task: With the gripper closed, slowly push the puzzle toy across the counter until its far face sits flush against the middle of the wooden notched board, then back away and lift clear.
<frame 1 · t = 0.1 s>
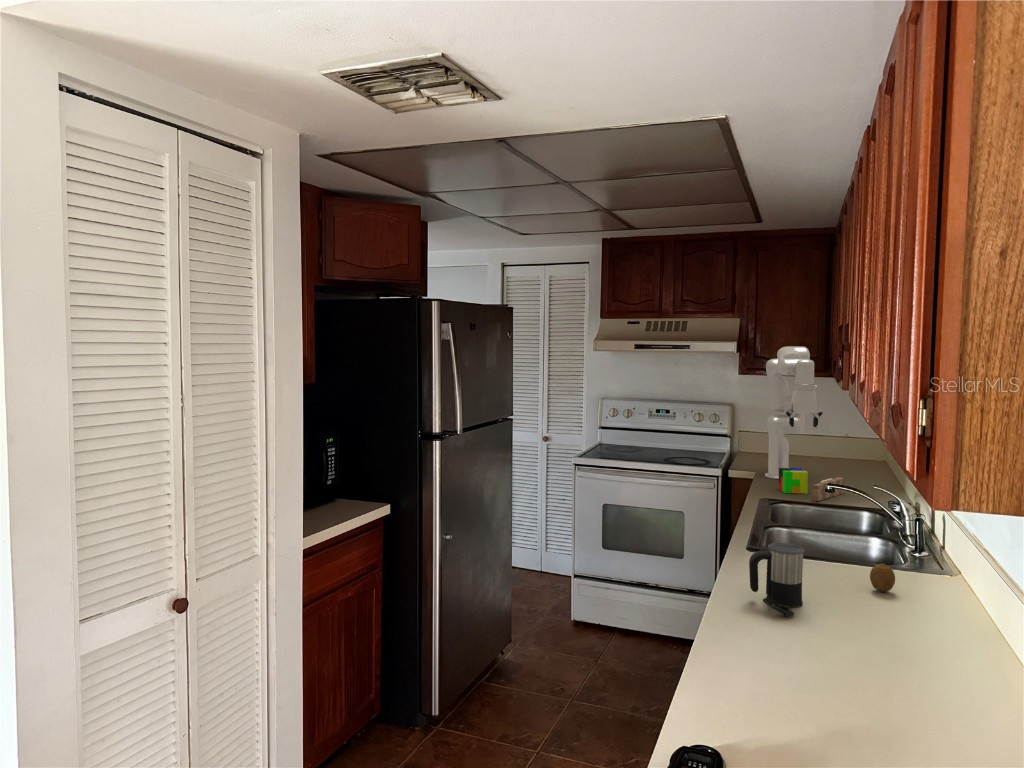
hand: (803, 426, 313), 31 cm above the worktop, tool pointing down, fingers open, 9 cm apart
fruit: (882, 592, 197), on the worktop
wooden notched board: (828, 497, 314), on the worktop
milk frother: (782, 607, 186), on the worktop
puzzle toy: (792, 492, 326), on the worktop
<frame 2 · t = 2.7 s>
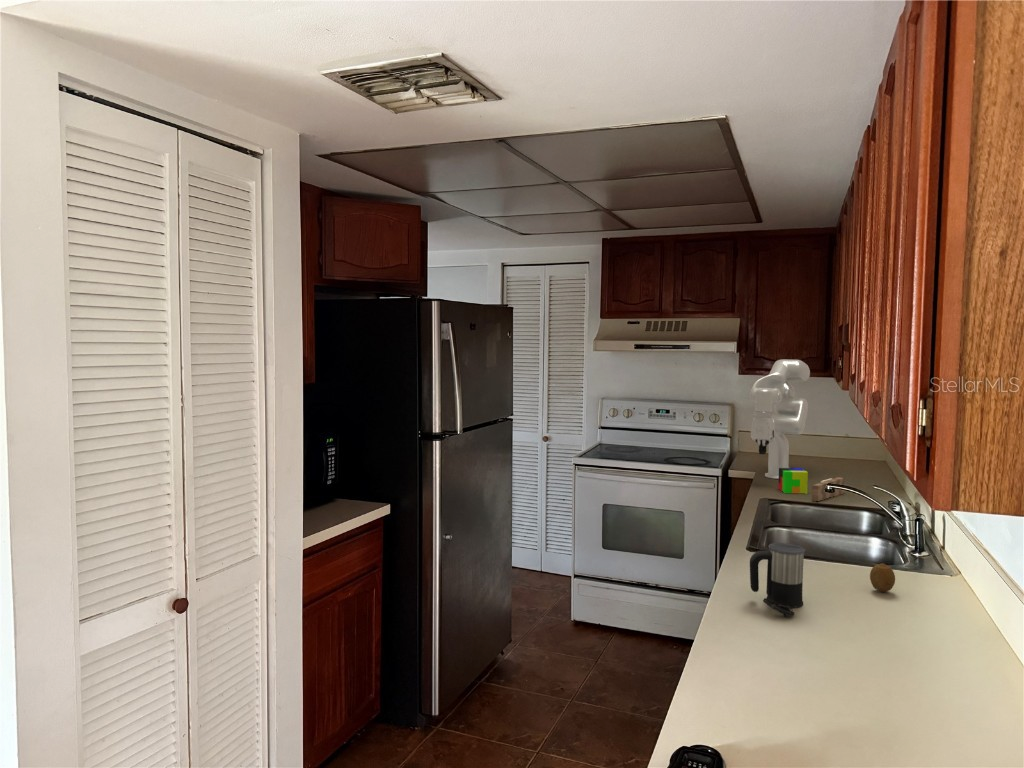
hand: (762, 453, 336), 16 cm above the worktop, tool pointing down, fingers closed
nothing on the worktop moved.
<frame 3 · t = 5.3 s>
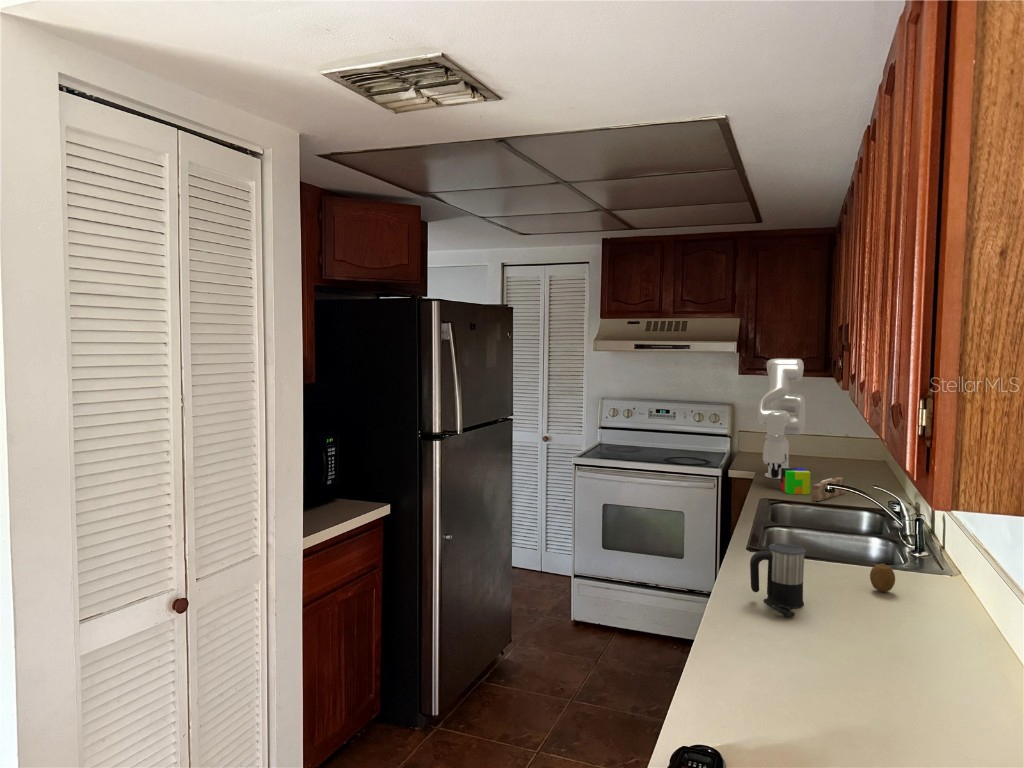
hand: (774, 477, 332), 5 cm above the worktop, tool pointing down, fingers closed
puzzle toy: (795, 492, 325), on the worktop, touching gripper
everything else where it was.
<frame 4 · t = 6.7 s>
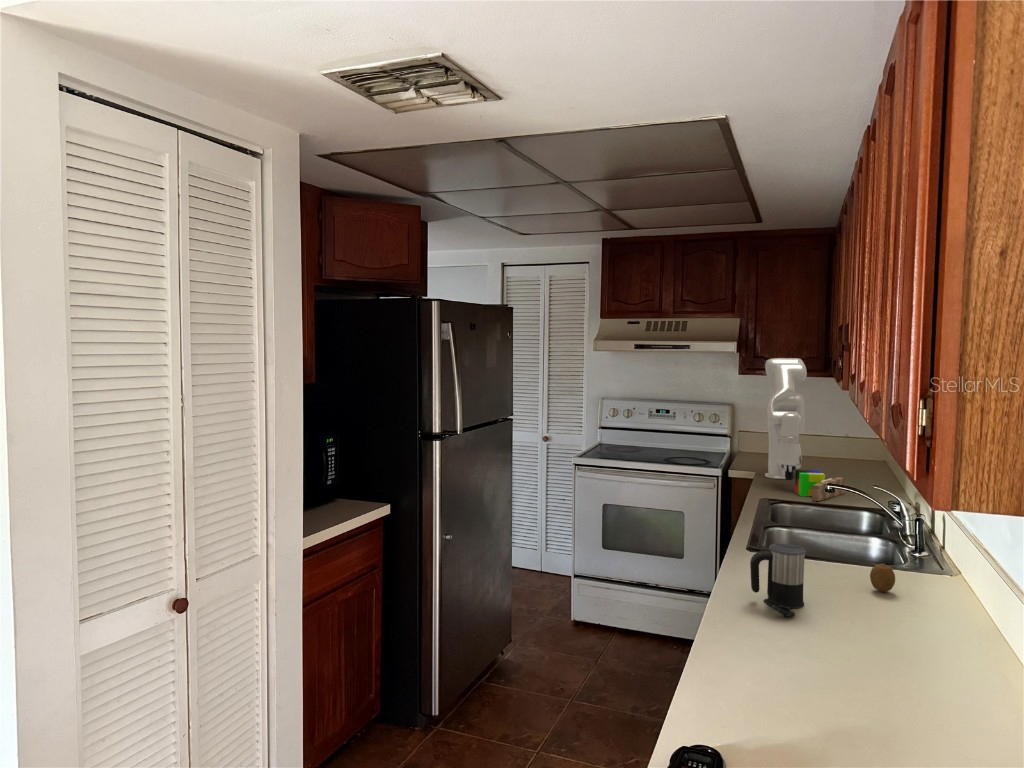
hand: (788, 479, 327), 5 cm above the worktop, tool pointing down, fingers closed
puzzle toy: (809, 494, 320), on the worktop, touching gripper, wooden notched board
everything else where it was.
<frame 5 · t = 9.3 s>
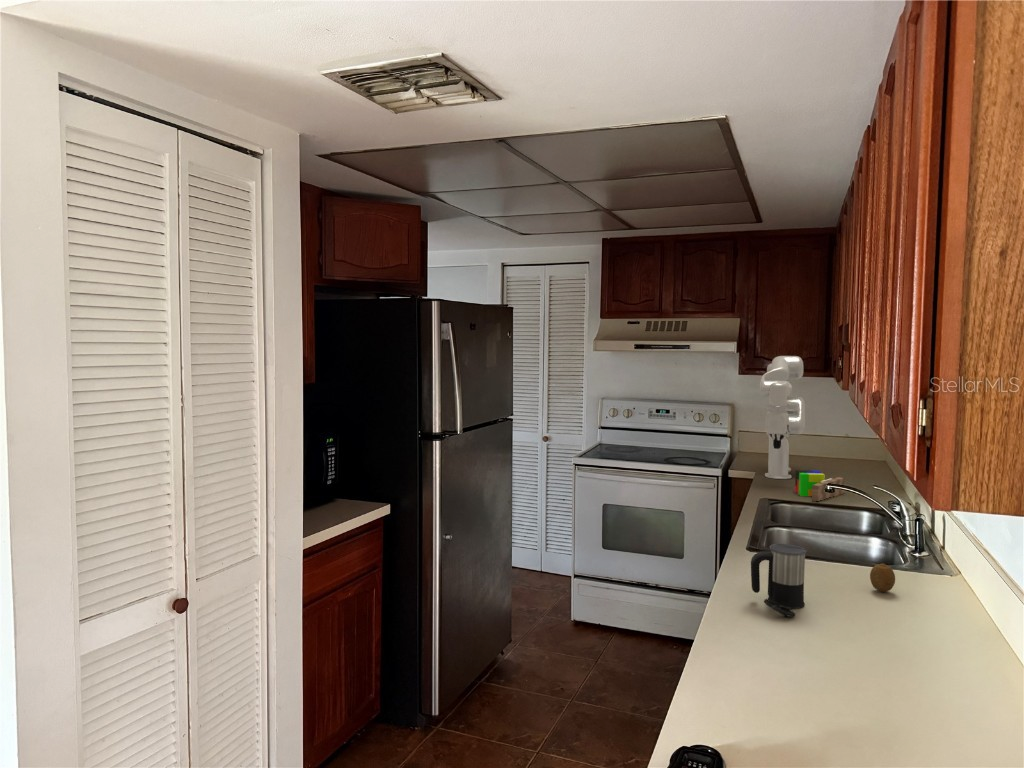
hand: (777, 448, 331), 19 cm above the worktop, tool pointing down, fingers closed
puzzle toy: (809, 494, 320), on the worktop
everything else where it was.
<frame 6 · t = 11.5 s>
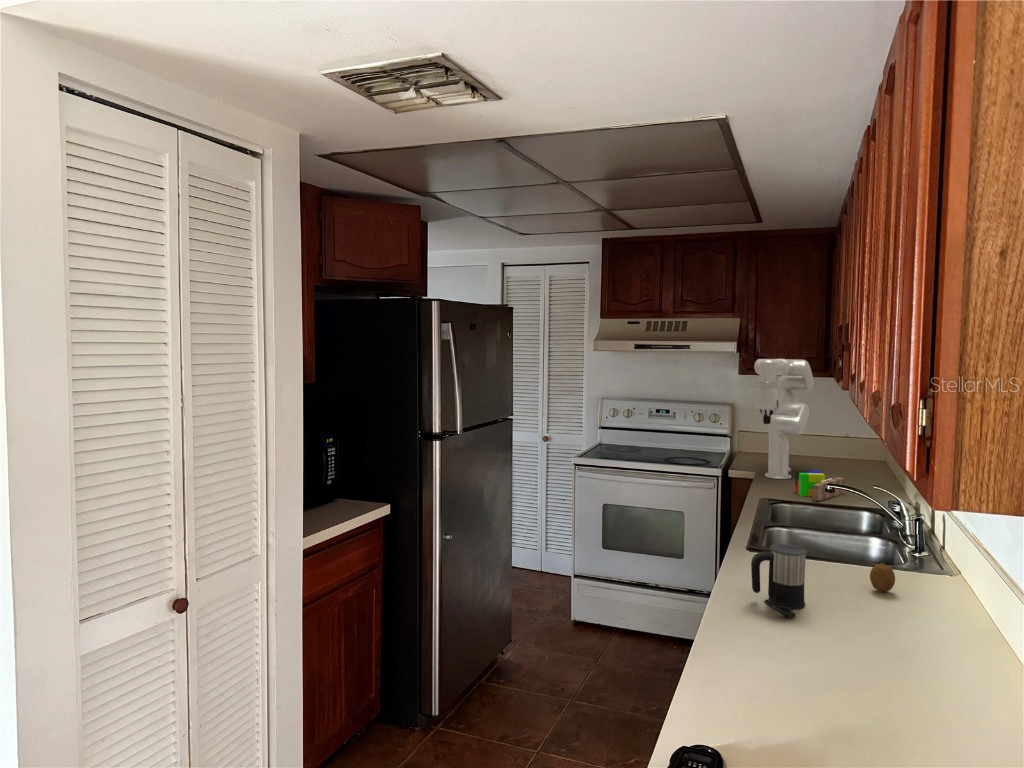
hand: (766, 423, 341), 29 cm above the worktop, tool pointing down, fingers closed
nothing on the worktop moved.
at the end: puzzle toy 0.4 cm from the target spot on the worktop beside the wooden notched board, on the worktop; puzzle toy tilted 0° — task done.
